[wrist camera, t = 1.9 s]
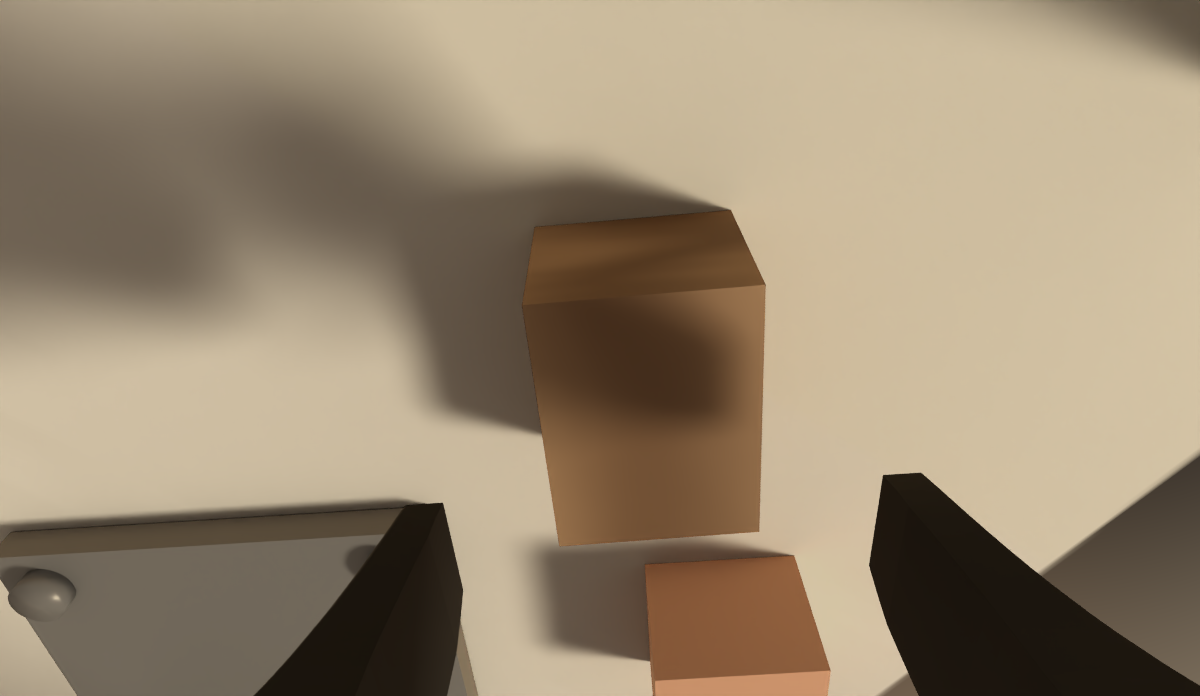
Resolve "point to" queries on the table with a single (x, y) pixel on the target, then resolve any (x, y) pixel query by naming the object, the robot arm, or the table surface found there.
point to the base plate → (190, 598)
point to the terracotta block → (733, 629)
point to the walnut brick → (648, 376)
